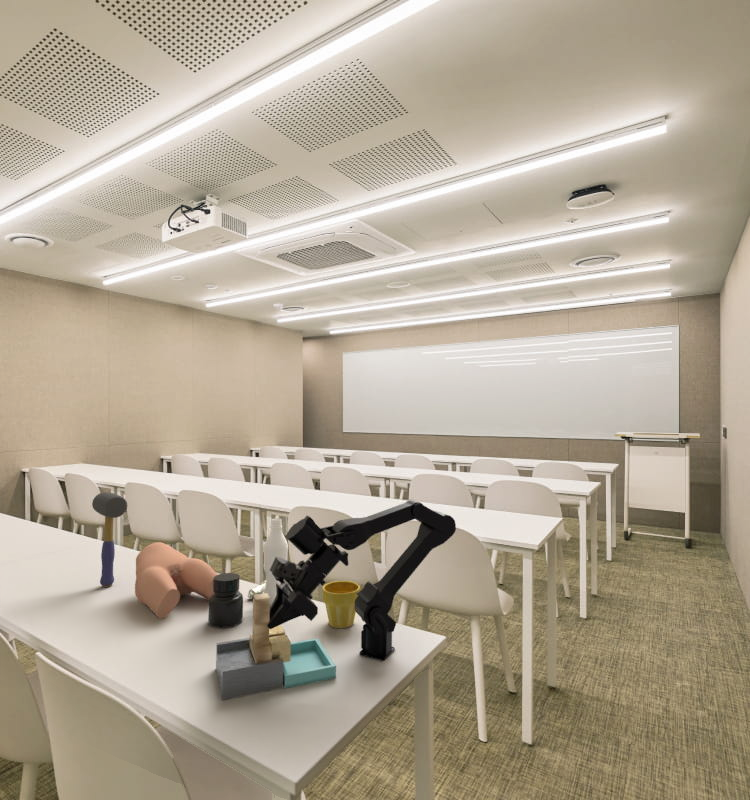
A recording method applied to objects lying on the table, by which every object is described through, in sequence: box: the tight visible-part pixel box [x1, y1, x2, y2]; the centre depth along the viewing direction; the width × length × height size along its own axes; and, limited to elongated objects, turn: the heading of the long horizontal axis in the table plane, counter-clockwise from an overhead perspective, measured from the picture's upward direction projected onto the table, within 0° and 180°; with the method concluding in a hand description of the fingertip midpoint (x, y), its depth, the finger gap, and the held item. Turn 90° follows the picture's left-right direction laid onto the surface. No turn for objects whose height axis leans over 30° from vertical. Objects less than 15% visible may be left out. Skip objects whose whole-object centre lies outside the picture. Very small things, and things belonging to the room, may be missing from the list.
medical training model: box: [134, 541, 219, 620], centre depth 146 cm, size 21×25×13 cm
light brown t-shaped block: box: [249, 593, 272, 663], centre depth 105 cm, size 3×9×12 cm, turn 23°
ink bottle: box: [207, 572, 244, 628], centre depth 132 cm, size 10×9×12 cm
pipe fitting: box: [247, 579, 266, 601], centre depth 150 cm, size 8×4×7 cm
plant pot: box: [321, 580, 361, 629], centre depth 131 cm, size 10×10×10 cm
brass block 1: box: [269, 624, 286, 637], centre depth 108 cm, size 4×4×4 cm
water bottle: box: [263, 517, 289, 607], centre depth 144 cm, size 7×7×25 cm
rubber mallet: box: [91, 491, 128, 588], centre depth 158 cm, size 12×8×30 cm, turn 48°
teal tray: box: [283, 638, 337, 689], centre depth 108 cm, size 11×14×2 cm
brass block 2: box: [269, 634, 292, 663], centre depth 104 cm, size 4×4×4 cm
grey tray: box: [215, 637, 284, 701], centre depth 103 cm, size 12×13×6 cm
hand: (267, 624), depth 105 cm, fingers closed on light brown t-shaped block, 3 cm apart
